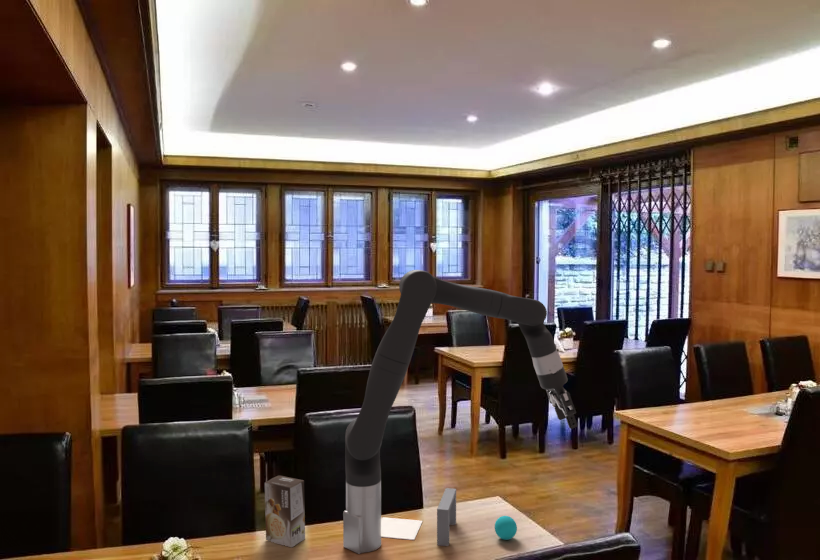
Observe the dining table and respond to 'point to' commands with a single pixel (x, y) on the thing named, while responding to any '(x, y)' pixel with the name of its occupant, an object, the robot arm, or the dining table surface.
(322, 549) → the dining table surface
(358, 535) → the robot arm
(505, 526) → the ball
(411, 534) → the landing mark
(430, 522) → the dining table surface
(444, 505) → the bridge
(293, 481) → the coffee box
